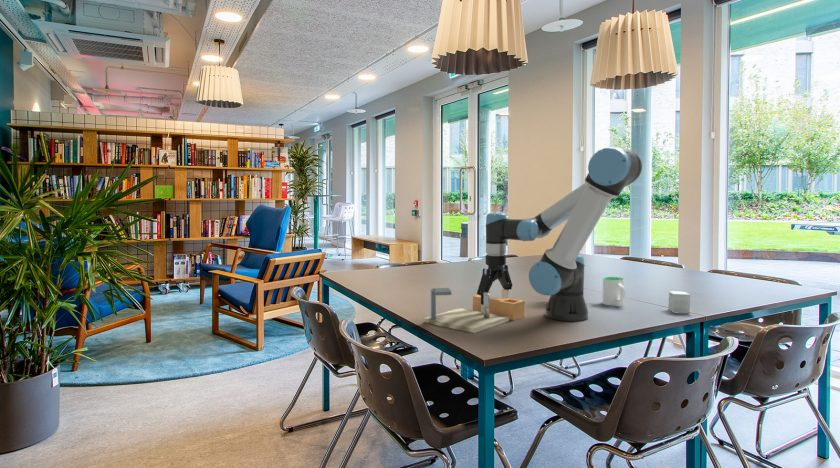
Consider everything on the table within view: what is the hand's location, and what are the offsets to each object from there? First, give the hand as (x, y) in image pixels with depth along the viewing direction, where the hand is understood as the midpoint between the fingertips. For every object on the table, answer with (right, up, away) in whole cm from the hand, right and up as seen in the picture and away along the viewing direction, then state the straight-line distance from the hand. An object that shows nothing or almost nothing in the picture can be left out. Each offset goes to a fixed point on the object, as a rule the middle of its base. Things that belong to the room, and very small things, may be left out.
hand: (495, 310), depth 194 cm
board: (-12, -2, -11) cm, 16 cm away
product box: (+71, -1, +3) cm, 71 cm away
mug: (+51, 0, +16) cm, 54 cm away
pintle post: (-5, -1, -12) cm, 12 cm away
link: (0, -1, -1) cm, 2 cm away
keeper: (-21, -1, -13) cm, 24 cm away
